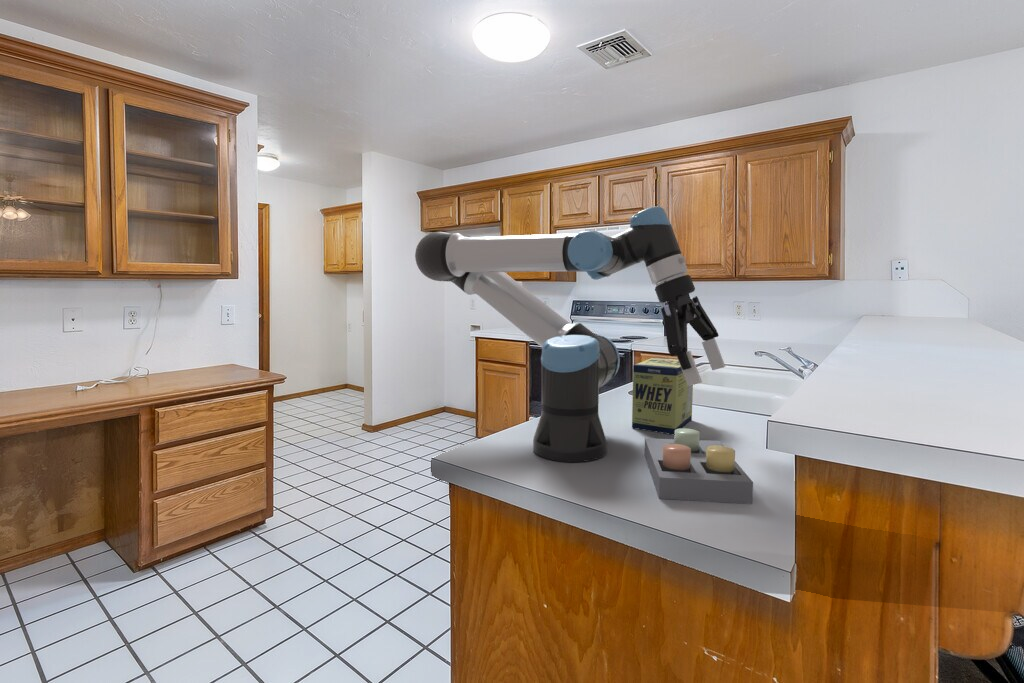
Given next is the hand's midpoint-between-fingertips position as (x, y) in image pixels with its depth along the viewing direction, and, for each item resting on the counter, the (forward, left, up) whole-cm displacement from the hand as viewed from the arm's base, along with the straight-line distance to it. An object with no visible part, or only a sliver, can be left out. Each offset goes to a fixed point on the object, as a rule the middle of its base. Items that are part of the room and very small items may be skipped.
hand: (707, 376), depth 102 cm
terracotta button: (-10, -22, -12) cm, 26 cm away
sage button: (-6, -12, -12) cm, 18 cm away
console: (-6, -17, -15) cm, 23 cm away
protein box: (-6, +18, -16) cm, 24 cm away
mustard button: (-3, -22, -12) cm, 25 cm away
